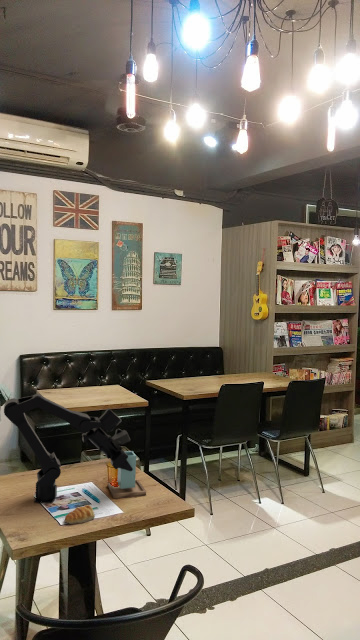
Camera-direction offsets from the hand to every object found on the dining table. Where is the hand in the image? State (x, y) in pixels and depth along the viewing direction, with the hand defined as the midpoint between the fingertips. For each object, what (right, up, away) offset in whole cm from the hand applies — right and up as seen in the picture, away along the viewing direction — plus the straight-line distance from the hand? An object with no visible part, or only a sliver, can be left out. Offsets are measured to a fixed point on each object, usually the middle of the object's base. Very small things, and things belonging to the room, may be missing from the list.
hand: (130, 467), depth 183 cm
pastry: (-14, -10, -24) cm, 29 cm away
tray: (-1, -9, 0) cm, 9 cm away
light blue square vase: (-1, -7, 0) cm, 7 cm away
